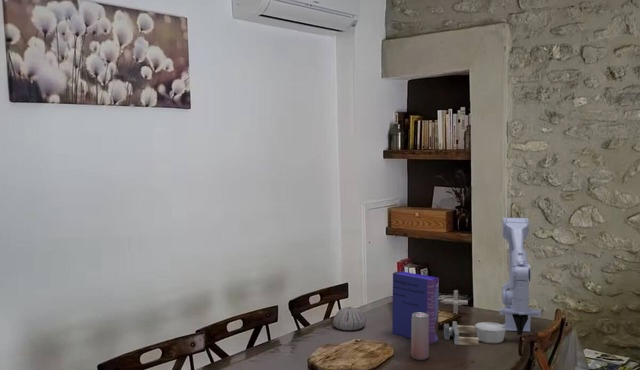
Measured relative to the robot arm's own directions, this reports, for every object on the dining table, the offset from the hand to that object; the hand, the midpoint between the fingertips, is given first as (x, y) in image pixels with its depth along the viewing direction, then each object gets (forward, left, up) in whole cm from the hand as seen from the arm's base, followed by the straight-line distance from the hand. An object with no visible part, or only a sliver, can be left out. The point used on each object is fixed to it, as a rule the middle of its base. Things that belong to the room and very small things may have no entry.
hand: (519, 334), depth 228 cm
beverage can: (+36, +24, -3) cm, 44 cm away
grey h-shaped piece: (+25, 0, -3) cm, 25 cm away
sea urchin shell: (+64, -7, -3) cm, 65 cm away
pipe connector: (+21, -34, -3) cm, 40 cm away
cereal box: (+38, +2, -3) cm, 39 cm away
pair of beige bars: (+18, 0, -3) cm, 19 cm away
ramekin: (+10, 0, -3) cm, 11 cm away
